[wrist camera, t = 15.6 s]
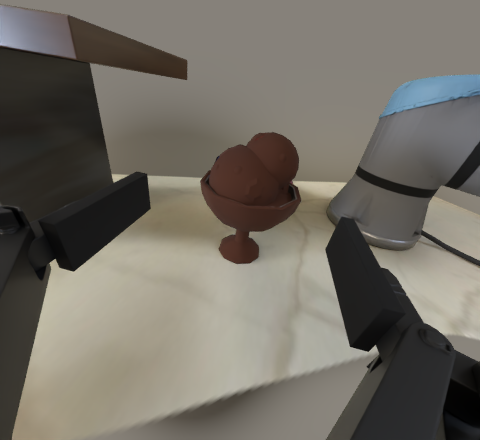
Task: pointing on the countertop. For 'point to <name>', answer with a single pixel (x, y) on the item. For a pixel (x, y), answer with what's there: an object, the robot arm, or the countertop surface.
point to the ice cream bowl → (252, 191)
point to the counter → (59, 105)
